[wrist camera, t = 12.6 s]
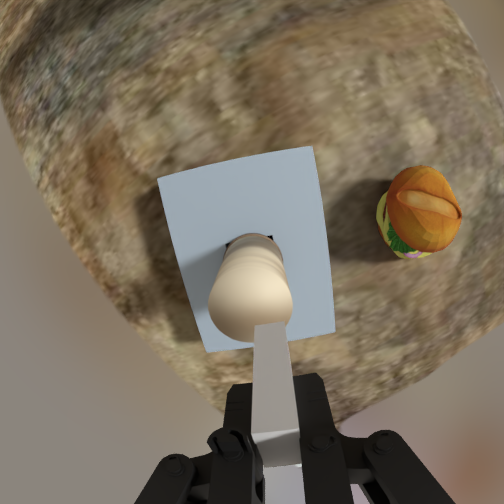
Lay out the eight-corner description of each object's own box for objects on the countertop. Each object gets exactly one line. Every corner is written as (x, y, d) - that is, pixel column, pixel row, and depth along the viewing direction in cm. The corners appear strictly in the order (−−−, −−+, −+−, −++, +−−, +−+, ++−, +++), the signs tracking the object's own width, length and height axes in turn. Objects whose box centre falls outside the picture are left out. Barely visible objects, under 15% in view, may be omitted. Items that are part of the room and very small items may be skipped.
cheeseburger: (382, 270, 32) (415, 284, 22) (353, 191, 32) (378, 175, 22) (441, 242, 30) (484, 246, 21) (416, 168, 30) (453, 149, 20)
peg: (223, 229, 31) (196, 275, 17) (274, 219, 30) (287, 259, 17) (234, 277, 32) (218, 348, 19) (283, 268, 32) (299, 336, 18)
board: (172, 177, 29) (157, 178, 25) (303, 150, 28) (312, 145, 23) (212, 329, 35) (206, 352, 30) (326, 311, 34) (335, 331, 29)
